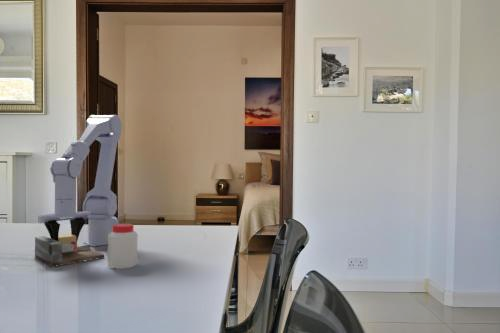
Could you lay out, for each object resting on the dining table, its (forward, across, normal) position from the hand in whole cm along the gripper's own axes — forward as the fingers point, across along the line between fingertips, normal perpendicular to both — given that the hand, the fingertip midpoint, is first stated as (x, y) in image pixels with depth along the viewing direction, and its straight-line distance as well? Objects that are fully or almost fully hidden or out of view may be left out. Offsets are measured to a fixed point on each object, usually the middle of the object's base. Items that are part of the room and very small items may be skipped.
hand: (64, 244), depth 116 cm
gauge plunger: (0, +3, +8) cm, 8 cm away
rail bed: (+3, 0, +3) cm, 5 cm away
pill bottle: (+4, -6, +20) cm, 22 cm away
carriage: (+2, 0, 0) cm, 2 cm away
